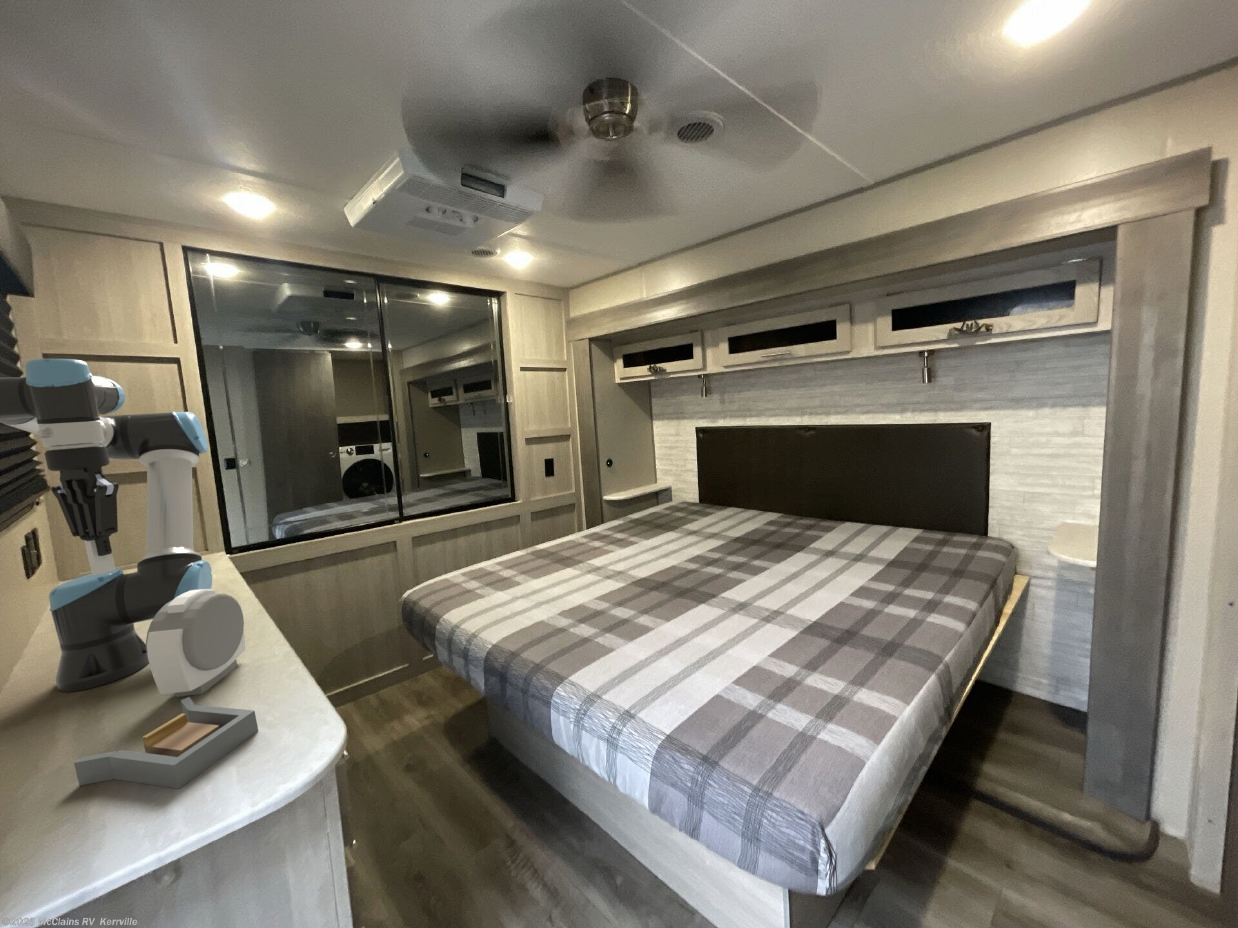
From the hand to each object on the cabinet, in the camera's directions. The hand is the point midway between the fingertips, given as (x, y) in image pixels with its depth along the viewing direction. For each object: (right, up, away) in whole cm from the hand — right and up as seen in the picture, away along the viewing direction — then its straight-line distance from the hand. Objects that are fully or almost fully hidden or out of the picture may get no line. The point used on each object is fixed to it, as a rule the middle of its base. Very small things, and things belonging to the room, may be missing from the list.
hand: (103, 571), depth 90 cm
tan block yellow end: (+22, -29, -7) cm, 38 cm away
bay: (+21, -29, -7) cm, 37 cm away
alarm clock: (+7, -27, +15) cm, 32 cm away
